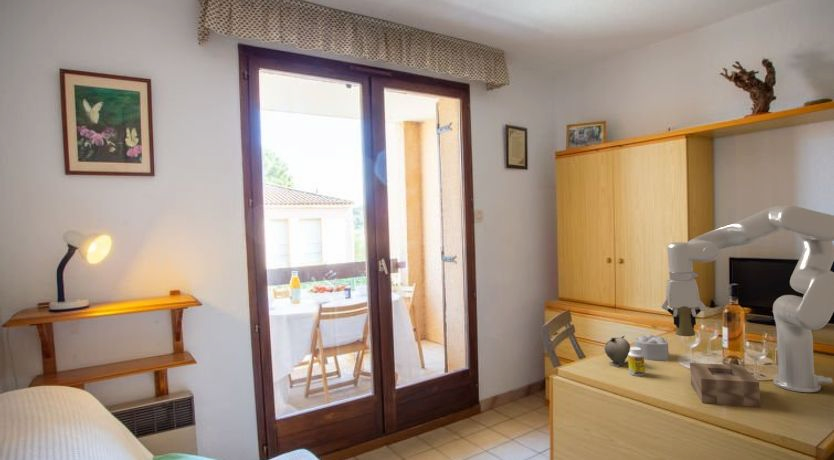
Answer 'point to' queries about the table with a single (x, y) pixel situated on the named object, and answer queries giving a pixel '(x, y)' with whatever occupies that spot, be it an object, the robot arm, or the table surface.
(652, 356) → the white egg tray
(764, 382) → the table surface
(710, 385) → the brown square frame
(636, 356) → the supplement bottle
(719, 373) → the gray square plate
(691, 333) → the olive pear shape
